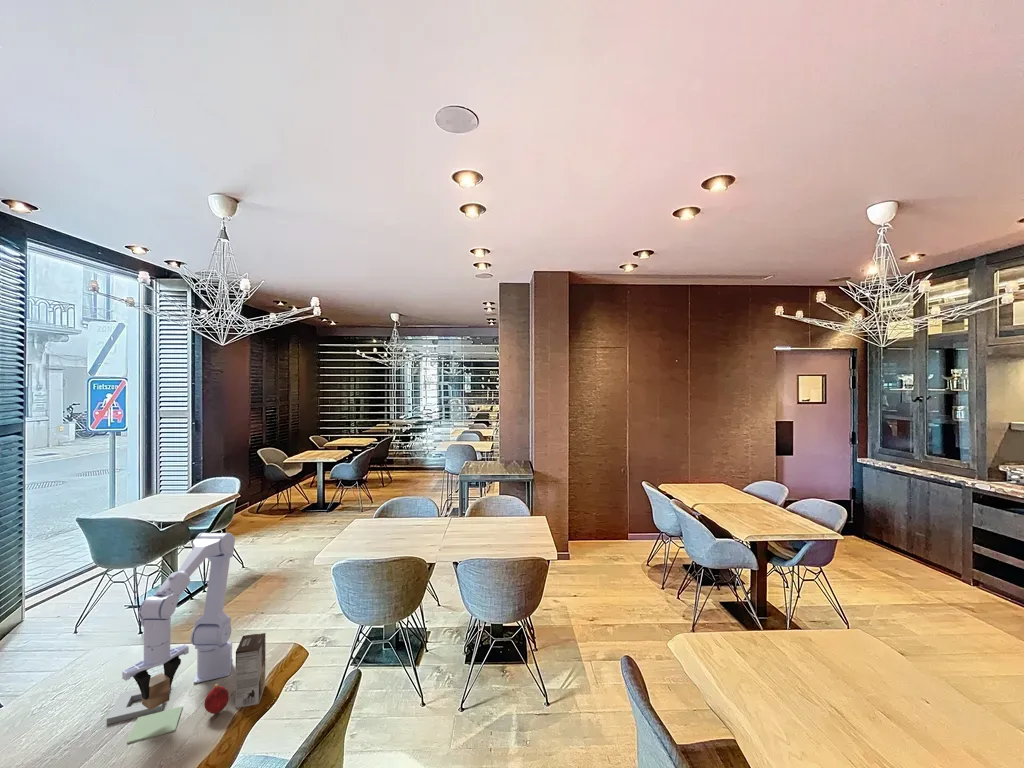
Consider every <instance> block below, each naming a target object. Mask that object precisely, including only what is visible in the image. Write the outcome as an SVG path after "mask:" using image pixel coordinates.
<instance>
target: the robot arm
mask: <svg viewBox="0 0 1024 768" xmlns="http://www.w3.org/2000/svg"><path fill="white" fill-rule="evenodd" d="M235 542H236V538H235V536H234V535H233V534H232V533H231V532H200V533H199V534H197V535H196V537H195V539H194V540H192V545H191V551H190V553H189V554H188V555H187V556H186V559H184V561H183V563H182V565H181V566H180V568H179V569H178V570H177V571H175V572H174V571H173V572H172V573H170V574H169V575H168V577H167V578H166V579H165V580H164V582H163V583H162V584H161V585H160V586H159V588H158V589H157V590H156V592H155V593H154V594H152V595H151V596H149V597H147V598H145V599H144V600H143V601H142V603H141V604H140V607H139V610H138V612H137V616H138V619H139V620H140V621H141V626H142V627H143V659H142V660H140V661H139V662H137V663H135V664H134V665H132V666H130V667H128V668H126V669H123V670H122V673H121V674H122V675H121V677H122V679H123V681H128V680H131V678H133V679H134V681H135V682H136V684H137V685H138V687H139V688H140V691H141V694H142V698H143V699H145V700H147V699H148V698H149V683H150V678H151V677H152V675H150V674H149V672H148V670H150V669H153V668H156V667H159V666H162V667H163V672H164V673H163V674H164V675H166V676H168V677H169V678H170V689H171V688H172V683H173V681H174V677H175V675H176V672H177V670H178V668H179V667H180V665H181V664H182V659H181V658H180V657H181V656H182V655H185V656H186V655H187V654H189V650H190V648H189V646H188V645H186V644H183V645H180V646H177V647H175V648H171V619H172V618H171V616H173V615H174V613H175V612H176V609H177V605H178V603H179V600H180V599H179V598H180V597H181V596H182V594H183V593H184V591H186V589H187V587H188V586H189V585H190V584H191V579H190V577H191V576H192V575H193V573H194V572H195V571H196V570H197V569H199V567H200V566H201V564H202V563H203V562H204V561H205V560H206V559H207V560H209V562H210V569H209V573H208V574H209V575H208V581H207V582H208V583H207V589H206V597H205V601H204V602H205V603H204V609H203V614H202V615H201V616H199V617H198V618H197V619H196V620H194V624H193V628H192V631H191V633H190V637H189V639H190V643H191V645H192V646H194V649H195V650H197V653H196V654H197V658H196V659H197V661H196V662H197V665H196V674H195V676H194V680H193V683H194V684H198V683H202V682H207V681H211V680H215V679H219V678H220V679H221V678H224V677H228V676H230V675H231V671H232V667H233V664H234V659H233V641H232V640H230V638H231V634H232V626H231V625H232V624H231V621H232V617H230V616H229V615H228V614H226V612H224V607H225V606H224V605H225V597H226V590H227V583H228V576H229V568H230V561H231V558H233V556H234V550H235V545H236V544H235ZM139 688H138V689H139Z"/></svg>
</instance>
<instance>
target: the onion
mask: <svg viewBox="0 0 1024 768" xmlns="http://www.w3.org/2000/svg"><path fill="white" fill-rule="evenodd" d="M229 700H230V694H229V691H228V689H227V688H226V687H224V686H222V685H219V683H215V684H214V688H212V689H211V690H209V692H208V693H207V695H206V697H205V699H204V702H203V707H204V709H205V711H206V712H207V713H210V714H212V715H217V714H219V713H220V712H221V711H223V710H224V709H225V708H226V707H227V705H228V703H229Z"/></svg>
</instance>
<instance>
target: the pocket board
mask: <svg viewBox="0 0 1024 768" xmlns="http://www.w3.org/2000/svg"><path fill="white" fill-rule="evenodd" d="M137 700H142V694H141V691H140V688H135V689H131V690H130V689H129V690H127V691H121V692H120V693H119V695H118V697H117V699H116V701H115V702H114V705H113V707H112V708H111V710H110V712H109V714H108V715H107V717H106V725H110V724H113V723H118V722H122V721H126V720H131V719H134V718H138V717H141V716H145V715H149V714H153V713H157V712H161V711H163V708H164V706H165V703H163V704H161V705H159V706H157V707H155V708H153V709H151V710H149V709H148V708H146V707H145V706H144V705H142V703H139V704H136V705H131V704H132V702H133V701H137ZM130 705H131V706H130Z"/></svg>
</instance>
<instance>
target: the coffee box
mask: <svg viewBox="0 0 1024 768" xmlns="http://www.w3.org/2000/svg"><path fill="white" fill-rule="evenodd" d="M266 642H267V640H266V632H264V633H253V634H245V635H242V636H241V639H240V642H239V644H238V646H237V648H236V650H235V682H234V683H235V687H234V688H235V689H234V690H235V694H234V696H235V699H234V700H235V701H234V705H235V706H234V708H235V709H238V708H243V707H249V706H256V705H259V704H260V702H261V700H262V697H263V695H264V694H263V693H264V690H265V686H266Z"/></svg>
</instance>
